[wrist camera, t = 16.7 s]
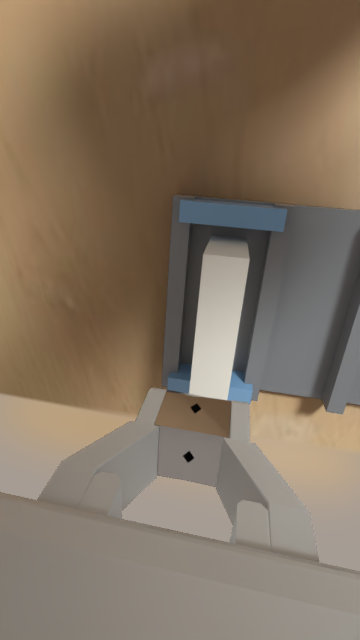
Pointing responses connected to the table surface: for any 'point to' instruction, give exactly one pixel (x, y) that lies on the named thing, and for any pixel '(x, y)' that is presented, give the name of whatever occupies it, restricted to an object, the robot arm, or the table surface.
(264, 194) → the table surface
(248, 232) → the board
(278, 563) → the robot arm
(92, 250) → the table surface
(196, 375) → the plug block
